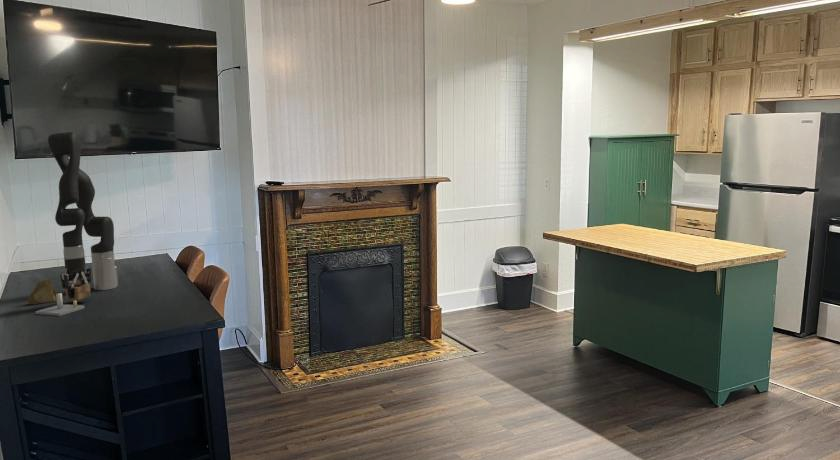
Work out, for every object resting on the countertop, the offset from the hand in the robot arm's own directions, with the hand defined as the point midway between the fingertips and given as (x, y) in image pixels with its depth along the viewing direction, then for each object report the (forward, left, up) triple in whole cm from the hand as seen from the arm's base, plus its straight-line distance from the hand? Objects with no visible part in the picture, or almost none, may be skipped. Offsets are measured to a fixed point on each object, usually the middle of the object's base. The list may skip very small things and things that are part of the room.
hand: (78, 295), depth 262 cm
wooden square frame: (0, 0, -1) cm, 1 cm away
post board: (+13, +4, -3) cm, 14 cm away
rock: (+3, -16, -3) cm, 17 cm away
